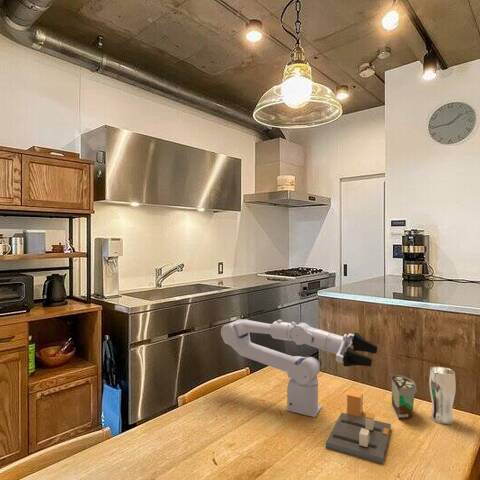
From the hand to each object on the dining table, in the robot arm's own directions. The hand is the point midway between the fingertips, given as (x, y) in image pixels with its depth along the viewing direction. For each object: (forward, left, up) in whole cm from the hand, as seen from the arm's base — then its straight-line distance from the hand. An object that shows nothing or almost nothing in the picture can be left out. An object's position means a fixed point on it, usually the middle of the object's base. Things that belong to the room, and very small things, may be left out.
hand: (374, 356), depth 103 cm
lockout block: (-6, +6, -21) cm, 23 cm away
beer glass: (+18, +15, -21) cm, 31 cm away
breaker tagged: (0, -4, -19) cm, 19 cm away
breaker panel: (-2, -8, -21) cm, 22 cm away
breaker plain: (0, -13, -19) cm, 23 cm away
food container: (+8, +14, -21) cm, 26 cm away
